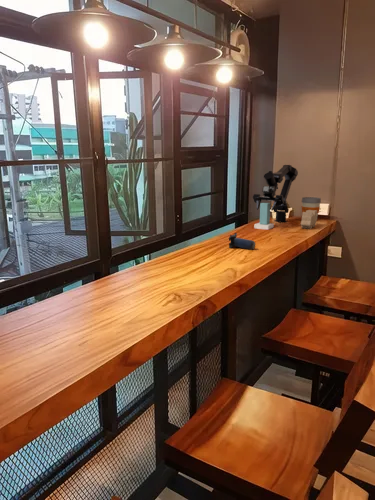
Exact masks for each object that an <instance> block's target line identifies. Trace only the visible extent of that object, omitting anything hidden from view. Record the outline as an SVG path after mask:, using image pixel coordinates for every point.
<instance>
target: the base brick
mask: <svg viewBox="0 0 375 500" xmlns="http://www.w3.org/2000/svg"><path fill="white" fill-rule="evenodd" d="M274 225H275V224H274V223H271V222H270V223H269V224H260V221H259V222H257V223H254V226H253V228H254V229H258V230H272V229H273V228H274Z"/></svg>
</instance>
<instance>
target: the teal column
mask: <svg viewBox="0 0 375 500" xmlns="http://www.w3.org/2000/svg"><path fill="white" fill-rule="evenodd" d="M270 216H271V202H260V206H259V222H260V224H269V223H271V221H270V220H271V218H270Z"/></svg>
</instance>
